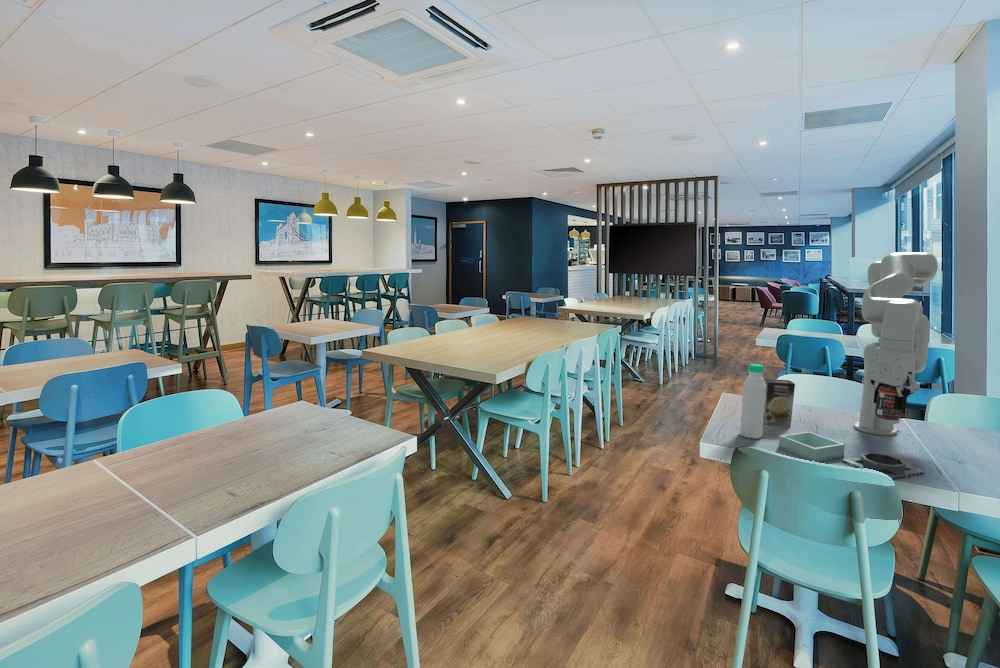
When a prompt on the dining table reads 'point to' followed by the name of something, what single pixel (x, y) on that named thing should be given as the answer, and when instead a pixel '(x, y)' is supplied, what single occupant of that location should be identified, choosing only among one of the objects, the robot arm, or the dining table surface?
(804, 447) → the bin
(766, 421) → the coffee box
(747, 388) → the water bottle
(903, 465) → the square bottle holder
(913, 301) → the robot arm
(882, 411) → the supplement bottle
